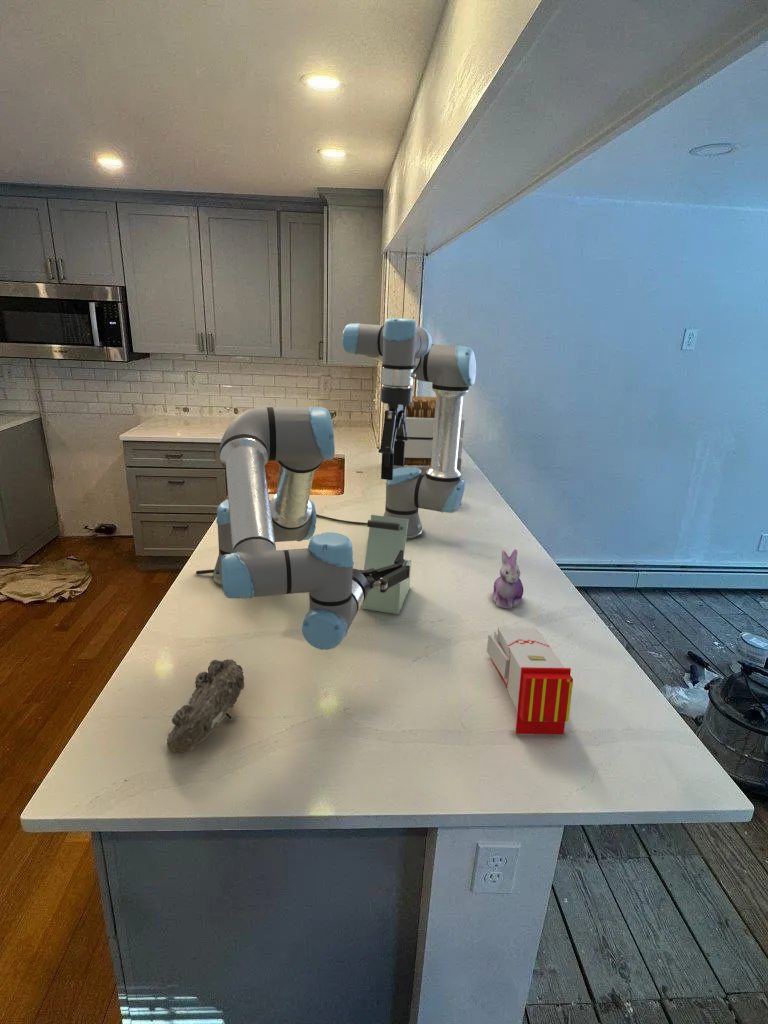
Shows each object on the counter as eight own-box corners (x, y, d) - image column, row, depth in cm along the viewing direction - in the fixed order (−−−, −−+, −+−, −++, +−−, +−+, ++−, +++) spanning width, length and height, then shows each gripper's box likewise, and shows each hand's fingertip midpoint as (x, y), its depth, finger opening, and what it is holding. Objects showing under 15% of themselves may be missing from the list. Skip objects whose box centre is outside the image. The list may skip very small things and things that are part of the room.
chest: (376, 583, 163) (377, 555, 160) (409, 588, 161) (411, 560, 158) (362, 608, 149) (363, 578, 146) (398, 614, 147) (400, 583, 144)
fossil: (192, 660, 117) (244, 628, 112) (224, 691, 120) (276, 661, 115) (142, 746, 98) (202, 712, 93) (182, 779, 101) (242, 748, 96)
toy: (534, 612, 132) (582, 675, 102) (529, 665, 135) (574, 741, 105) (482, 611, 131) (516, 674, 102) (478, 664, 134) (510, 740, 105)
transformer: (382, 463, 289) (386, 382, 275) (445, 464, 293) (451, 384, 279) (390, 482, 257) (394, 392, 243) (460, 483, 261) (468, 394, 247)
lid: (371, 514, 147) (365, 512, 140) (408, 519, 146) (403, 517, 138) (363, 576, 147) (356, 577, 139) (400, 581, 145) (395, 583, 137)
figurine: (505, 613, 150) (512, 561, 145) (482, 596, 158) (488, 546, 153) (533, 606, 154) (540, 555, 149) (509, 589, 163) (515, 541, 158)
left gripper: (286, 601, 115) (321, 559, 134) (407, 620, 110) (425, 573, 129) (285, 567, 112) (321, 529, 132) (409, 585, 107) (427, 543, 127)
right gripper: (402, 394, 123) (397, 487, 130) (421, 381, 146) (416, 461, 153) (368, 391, 125) (365, 484, 132) (392, 379, 148) (389, 458, 155)
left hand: (372, 551), depth 130 cm, fingers open, 13 cm apart
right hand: (392, 472), depth 143 cm, fingers open, 13 cm apart
